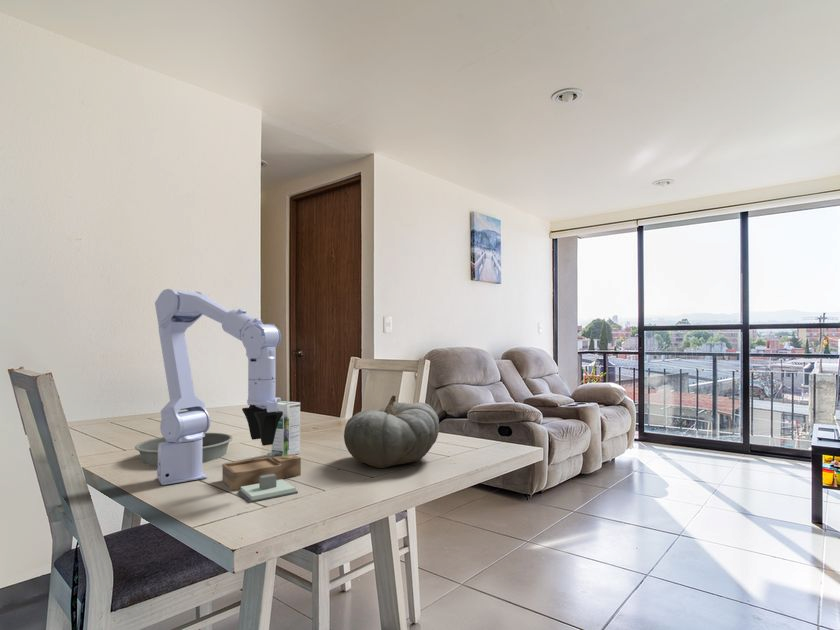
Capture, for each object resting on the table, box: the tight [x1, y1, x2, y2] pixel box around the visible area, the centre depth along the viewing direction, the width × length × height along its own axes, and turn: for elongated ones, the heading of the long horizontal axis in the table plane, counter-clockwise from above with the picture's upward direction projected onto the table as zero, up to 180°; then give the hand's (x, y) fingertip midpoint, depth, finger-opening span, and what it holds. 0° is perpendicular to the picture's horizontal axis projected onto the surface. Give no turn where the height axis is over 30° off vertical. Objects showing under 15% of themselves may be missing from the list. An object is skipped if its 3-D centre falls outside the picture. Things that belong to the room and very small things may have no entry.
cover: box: [240, 474, 297, 500], centre depth 104 cm, size 9×8×3 cm
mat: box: [238, 489, 299, 503], centre depth 104 cm, size 10×8×1 cm
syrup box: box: [271, 400, 301, 456], centre depth 138 cm, size 6×6×14 cm
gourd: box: [343, 395, 440, 469], centre depth 129 cm, size 25×25×17 cm
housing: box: [221, 454, 302, 491], centre depth 114 cm, size 16×10×4 cm, turn 125°
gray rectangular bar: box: [266, 451, 282, 459], centre depth 126 cm, size 9×2×3 cm, turn 35°
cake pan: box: [134, 432, 234, 467], centre depth 138 cm, size 25×25×4 cm
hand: (261, 441), depth 108 cm, fingers open, 7 cm apart
